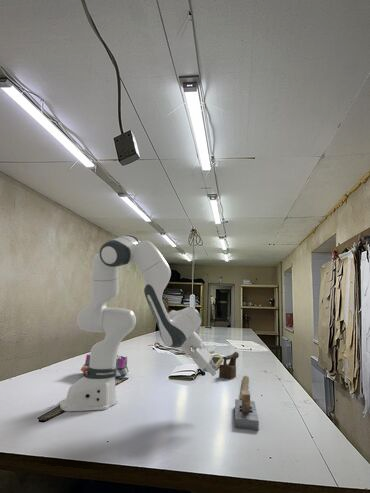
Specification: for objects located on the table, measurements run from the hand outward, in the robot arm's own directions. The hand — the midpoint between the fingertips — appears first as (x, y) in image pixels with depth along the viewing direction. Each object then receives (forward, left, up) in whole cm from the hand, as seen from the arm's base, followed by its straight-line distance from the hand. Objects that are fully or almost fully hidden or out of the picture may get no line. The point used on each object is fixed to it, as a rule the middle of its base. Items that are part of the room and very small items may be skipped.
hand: (215, 371), depth 121 cm
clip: (+9, -8, -16) cm, 20 cm away
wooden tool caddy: (+43, +48, -16) cm, 67 cm away
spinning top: (-27, +72, -16) cm, 79 cm away
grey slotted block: (+9, -8, -16) cm, 20 cm away
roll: (+32, +21, -16) cm, 42 cm away
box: (+45, +70, -16) cm, 84 cm away
